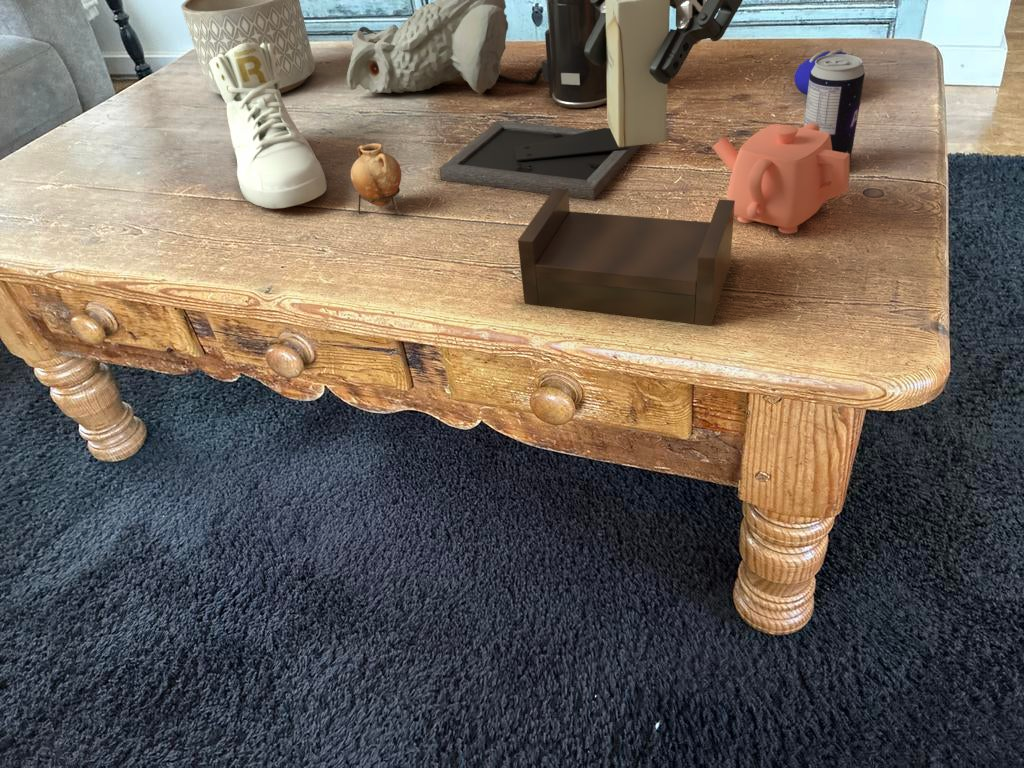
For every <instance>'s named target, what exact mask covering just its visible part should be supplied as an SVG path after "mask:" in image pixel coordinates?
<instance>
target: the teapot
mask: <svg viewBox="0 0 1024 768" xmlns="http://www.w3.org/2000/svg"><path fill="white" fill-rule="evenodd" d="M711 148H712V149H713V151H714V152H715V153H716V154H717V156H718V157H719V158H720V159H721V161H722V162H723V163H724V165H726V167H727V169H729V171H730V174H731V175H730V179H729V183H728V189H727V196H726V197H727V198H726V200H734V201H735V206H734V216H736V217H737V221H738V222H740V223H743V224H751V223H754V222H757V223H762V224H765V225H770V226H776V227H778V231H779V232H780V233H782V234H795V233H796V232H798V226H799V225H801V224H803V223H804V222H806V221H807V220H808V219H810V218H811V217H812V216H814V215H815V214H817V213H818V211H819V210H820V209H821V207H822V206H823V205H824V204H825V201H828V200H830V199H833V198H836V197H839V196H842V195H844V194H845V193H846V192H847V191H848V190H849V189H850V162H851V160H850V154H848V153H843V152H837V151H832V144H831V138H830V135H829V134H828V133H826V132H821V131H819V125H818V124H816V123H809V124H806V125H805V126H804V125H803V126H802V127H800V126H794V125H790V124H780V123H772V124H770V125H768V126H765V127H764V128H762V129H760V130H759V131H757V132H755V133H754V134H753V135H751V136H750V137H749V138H748V139H747V140H746V141H745V142H744V143H743V144H742V145H741V146H740V148H739V150H737V149H736V147H734V145H733V143H731V141H730V140H729V139H728V138H727V136H724V137H722V138H721V139H719V140H718V141H717V142H715V143H714V144H713V145H712V146H711Z"/></svg>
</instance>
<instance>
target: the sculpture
mask: <svg viewBox="0 0 1024 768" xmlns="http://www.w3.org/2000/svg"><path fill="white" fill-rule="evenodd" d="M506 8H507V5H506V0H434V1H432V2H429V3H427V4H424V5H421V6H420V7H419V9H416V10H415V11H414V13H413V14H412V16H409V17H408V18H406V20H405V22H402V24H401V25H400V26H399V27H398V26H397V25H396V24H392V25H391V26H388V27H387V28H386V29H383V30H380V31H379V32H377V33H376V32H374V33H371V34H368V33H367V34H365V33H364V31H363V32H362V31H359V30H357V31H356V32H354V33H353V34H352V35H351V42H352V44H353V47H354V48H353V49H352V52H351V56H350V58H349V59H350V62H349V65H348V69H347V73H346V78H345V79H346V83H347V87H348V89H350V90H351V91H352V90H356V89H357V87H358V86H359V85H360V87H361V88H362V89H364V90H369V91H370V92H371V93H372V94H380V93H386V94H391V93H393V92H394V93H396V94H397V93H398V94H404V93H405V92H416V91H419V92H421V91H425V90H431V89H432V88H433V87H434V86H435V87H436V86H439V85H440V84H443V83H445V82H447V81H449V82H450V81H454V80H456V79H457V78H458V77H459V76H461V78H463V80H464V81H465V82H467V83H468V85H469V86H470V87H471V89H472V90H473V91H474V92H475V93H478V94H483V93H485V92H486V91H487V89H488V90H491V89H492V87H493V86H495V85H496V83H497V80H498V79H497V78H498V77H499V74H500V73H501V60H502V57H503V56H504V52H505V50H506V39H507V33H508V30H509V22H508V20H507V16H508V15H507V14H506V13H505V10H506ZM375 33H376V34H375Z"/></svg>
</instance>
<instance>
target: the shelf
mask: <svg viewBox="0 0 1024 768" xmlns="http://www.w3.org/2000/svg"><path fill="white" fill-rule="evenodd" d="M734 206H735V201H734V200H727V199H718V200H717V203H716V206H715V210H714V212H713V214H712V217H711V220H710V221H697V220H687V219H686V220H685V219H672V218H658V217H645V216H632V215H620V214H608V213H607V214H606V213H595V212H594V213H593V212H584V211H583V212H581V211H570V197H569V192H568V189H561V188H554V190H553V191H552V192H551V194H548V196H547V198H546V199H545V201H544V202H543V203H542V205H541V206H540V208H539V210H537V212H536V214H535V215H534V216H533V217H532V219H531V221H530V222H529V223H528V225H527V226H526V228H525V229H524V230H523V232H522V233H521V235H520V236H519V238H518V239H517V246H518V247H517V248H518V256H519V265H520V273H521V285H522V293H523V301H524V304H525V305H526V304H527V305H534V306H540V307H541V306H542V307H550V308H558V309H567V310H577V311H584V312H591V313H602V314H610V315H619V316H625V317H634V318H635V317H636V318H642V319H643V318H644V319H652V320H660V321H667V322H669V321H670V322H676V323H684V324H685V323H686V324H695V325H702V326H712V323H713V320H714V317H715V314H716V311H717V307H718V304H719V301H720V298H721V295H722V291H723V288H724V285H725V282H726V279H727V276H728V273H729V271H730V266H731V261H732V260H731V259H732V258H731V257H732V245H733V230H734V218H735V215H734Z"/></svg>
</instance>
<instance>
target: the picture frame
mask: <svg viewBox="0 0 1024 768" xmlns="http://www.w3.org/2000/svg"><path fill="white" fill-rule="evenodd" d="M642 146H643V144H642V145H635V146H625V147H618V145H617V143H616V141H615V138H614V136H613V134H612V132H611V129H610V127H603V128H602V127H601V128H597V129H589V128H588V129H587V128H579V127H578V128H577V127H569V126H568V127H567V126H558V125H557V126H556V125H547V124H535V123H525V122H516V121H515V122H514V121H504V120H498V121H496V122H495V123H493V125H491V126H489V128H487V129H486V130H484V131H483V132H482V133H481V134H480V135H478V136H477V137H476V138H475V139H474V140H472V141H471V142H470V143H469V144H467V145H466V146H465V147H464V148H462V149H461V150H460V151H459V152H458V153H455V155H454V156H453V157H451V158H450V159H448V160H447V161H446V162H445V163H444V164H443V165H441V166H440V167H439V168H438V169H439V176H440V180H441V181H446V182H456V183H462V184H471V185H477V186H484V187H485V186H486V187H491V188H492V187H493V188H500V189H507V190H508V189H509V190H514V191H515V190H516V191H523V192H530V193H537V194H545V195H550V194H551V192H552V191H553V190H554V188H561V189H568V192H569V198H575V199H583V200H591V201H594V200H595V199H596V198H597V197H598V196H599V195H600V194H601V192H602V191H603V190H604V189H605V188H606V187H607V186H608V185H609V184H610V182H611V181H612V180H613V179H614V178H615V176H617V174H618V173H619V172H620V171H621V170H622V169H623V167H624V166H625V165H627V163H628V162H629V161H630V160H631V159H632V158H633V156H634V155H635V154H636V153H637V152H638V151H639V150H640V149H641V147H642Z"/></svg>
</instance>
